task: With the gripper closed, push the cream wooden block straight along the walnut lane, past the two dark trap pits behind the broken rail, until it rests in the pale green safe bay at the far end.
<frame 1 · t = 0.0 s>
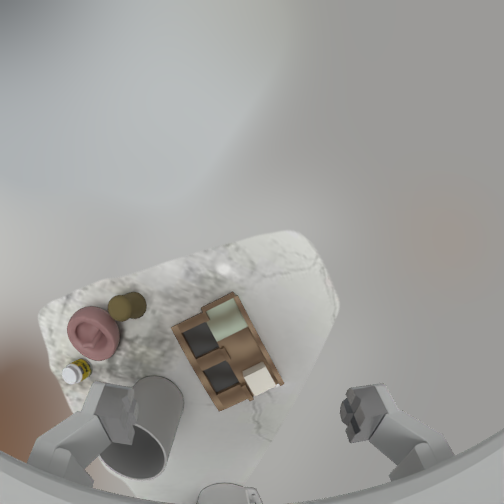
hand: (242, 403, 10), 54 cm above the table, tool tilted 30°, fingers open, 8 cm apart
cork: (134, 305, 62), on the table
mortar and pestle: (103, 330, 60), on the table
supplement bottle: (84, 367, 58), on the table
cylinder vase: (158, 399, 60), on the table
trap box: (231, 352, 62), on the table
block: (257, 375, 60), point 2 cm above the table, touching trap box
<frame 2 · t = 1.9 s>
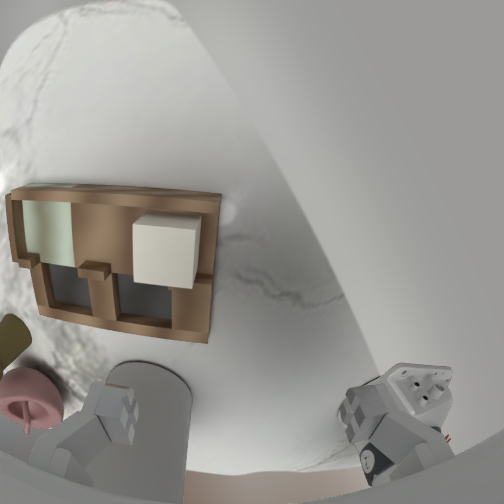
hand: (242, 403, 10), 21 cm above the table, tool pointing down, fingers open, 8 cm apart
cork: (18, 329, 32), on the table
mortar and pestle: (44, 379, 36), on the table
cylinder vase: (150, 389, 37), on the table
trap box: (113, 251, 29), on the table
block: (173, 238, 27), point 2 cm above the table, touching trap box
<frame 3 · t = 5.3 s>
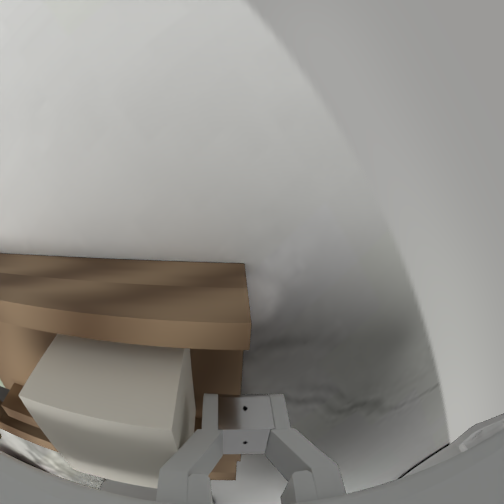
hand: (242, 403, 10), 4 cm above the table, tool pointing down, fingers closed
cylinder vase: (158, 495, 22), on the table
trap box: (53, 363, 13), on the table
block: (134, 369, 11), point 2 cm above the table, touching gripper, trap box
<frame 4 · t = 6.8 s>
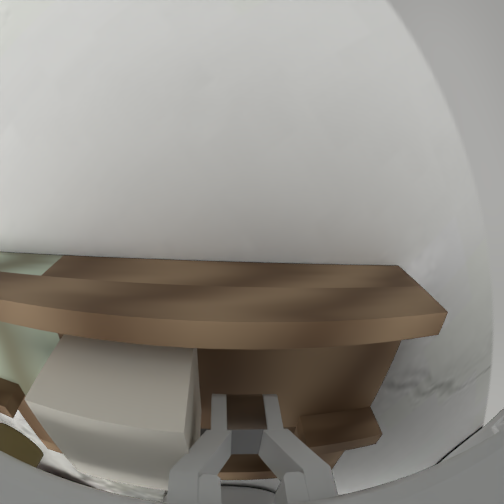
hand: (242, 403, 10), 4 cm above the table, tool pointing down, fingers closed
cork: (20, 439, 18), on the table
cylinder vase: (222, 499, 22), on the table
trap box: (162, 380, 14), on the table
block: (140, 371, 11), point 2 cm above the table, touching gripper, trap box
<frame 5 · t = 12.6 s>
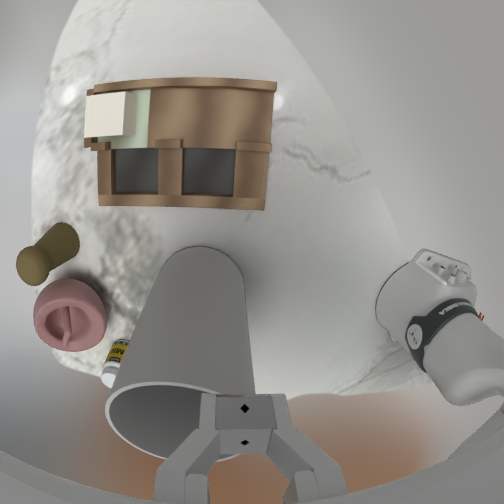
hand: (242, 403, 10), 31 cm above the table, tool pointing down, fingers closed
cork: (64, 240, 38), on the table
mortar and pestle: (84, 297, 42), on the table
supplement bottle: (125, 348, 47), on the table
cylinder vase: (201, 284, 43), on the table
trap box: (181, 135, 34), on the table
block: (117, 116, 31), point 2 cm above the table, touching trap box
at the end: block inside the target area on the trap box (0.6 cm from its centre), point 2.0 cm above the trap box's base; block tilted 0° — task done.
